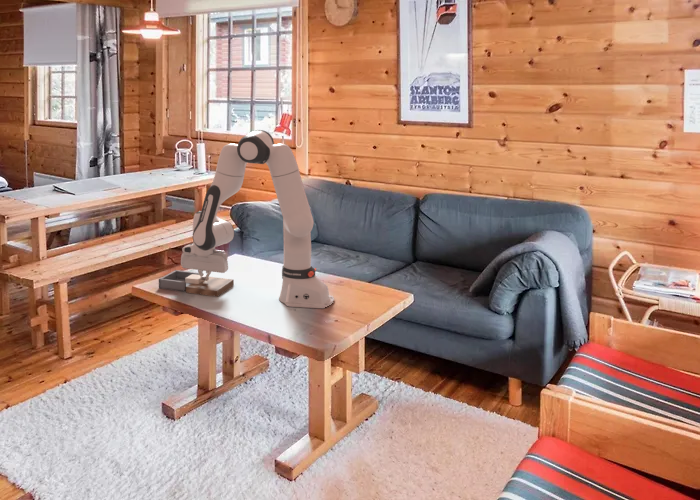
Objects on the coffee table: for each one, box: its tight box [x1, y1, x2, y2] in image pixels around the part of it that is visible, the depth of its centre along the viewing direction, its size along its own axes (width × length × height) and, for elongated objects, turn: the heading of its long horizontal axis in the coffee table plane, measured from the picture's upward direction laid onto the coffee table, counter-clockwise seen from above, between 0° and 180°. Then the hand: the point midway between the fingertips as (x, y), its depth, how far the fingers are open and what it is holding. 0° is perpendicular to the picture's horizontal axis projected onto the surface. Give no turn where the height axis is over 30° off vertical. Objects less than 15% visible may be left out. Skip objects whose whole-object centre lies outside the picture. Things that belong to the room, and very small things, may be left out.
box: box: [158, 269, 199, 293], centre depth 272 cm, size 12×14×4 cm
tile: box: [185, 274, 204, 284], centre depth 270 cm, size 6×6×2 cm
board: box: [185, 276, 235, 297], centre depth 269 cm, size 14×16×2 cm
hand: (204, 280), depth 269 cm, fingers closed
